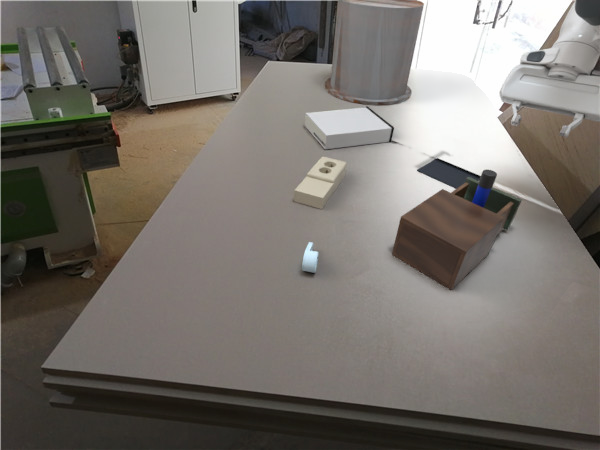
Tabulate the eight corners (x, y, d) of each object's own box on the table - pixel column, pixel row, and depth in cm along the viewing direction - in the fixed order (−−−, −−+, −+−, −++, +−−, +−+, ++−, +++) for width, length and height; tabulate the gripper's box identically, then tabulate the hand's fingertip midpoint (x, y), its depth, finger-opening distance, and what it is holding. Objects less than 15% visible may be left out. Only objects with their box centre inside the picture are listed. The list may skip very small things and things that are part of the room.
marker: (479, 224, 90) (499, 173, 82) (473, 229, 88) (493, 177, 80) (467, 218, 91) (486, 168, 83) (461, 223, 89) (480, 172, 82)
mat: (487, 174, 112) (487, 173, 112) (463, 191, 104) (463, 190, 104) (442, 156, 120) (442, 154, 120) (416, 170, 112) (417, 169, 112)
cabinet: (431, 224, 92) (442, 188, 86) (488, 254, 85) (504, 217, 79) (391, 254, 83) (400, 216, 77) (451, 290, 76) (466, 251, 70)
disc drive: (391, 142, 126) (394, 127, 123) (325, 150, 119) (326, 134, 116) (365, 120, 139) (367, 106, 136) (304, 126, 132) (305, 111, 129)
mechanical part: (314, 276, 76) (316, 258, 74) (301, 274, 76) (303, 256, 75) (320, 255, 83) (322, 238, 81) (308, 253, 83) (310, 236, 82)
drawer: (467, 198, 100) (477, 170, 95) (516, 221, 93) (530, 192, 89) (426, 228, 89) (435, 199, 85) (479, 256, 82) (492, 226, 78)
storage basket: (398, 112, 147) (418, 13, 127) (311, 93, 158) (317, 0, 138) (419, 85, 172) (438, 0, 153) (342, 71, 183) (351, -10, 164)
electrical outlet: (294, 186, 94) (322, 155, 108) (293, 201, 97) (320, 168, 110) (323, 194, 92) (347, 161, 106) (321, 209, 95) (345, 175, 108)
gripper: (626, 83, 79) (594, 148, 80) (517, 66, 90) (490, 123, 92) (631, 67, 74) (597, 137, 75) (515, 51, 85) (487, 113, 86)
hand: (537, 129), depth 83 cm, fingers open, 8 cm apart
